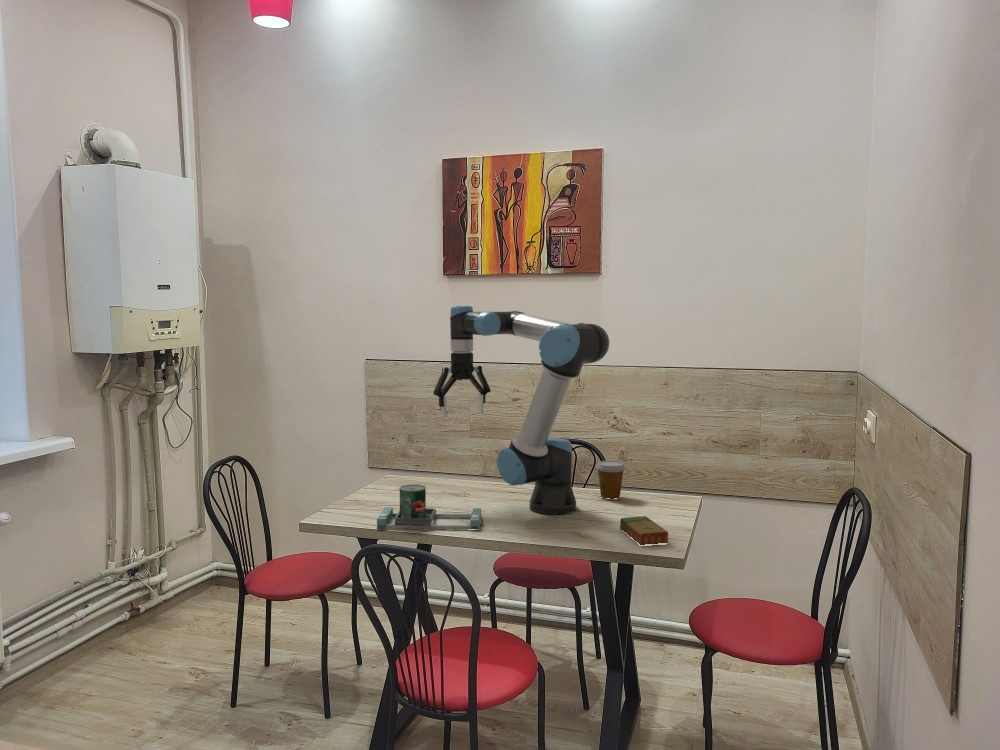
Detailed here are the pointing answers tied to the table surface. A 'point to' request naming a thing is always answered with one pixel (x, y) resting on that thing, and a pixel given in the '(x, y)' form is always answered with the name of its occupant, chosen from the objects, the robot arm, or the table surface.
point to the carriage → (416, 519)
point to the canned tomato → (412, 501)
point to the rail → (400, 526)
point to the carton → (644, 530)
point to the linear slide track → (388, 511)
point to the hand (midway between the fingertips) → (462, 415)
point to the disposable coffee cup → (610, 478)
